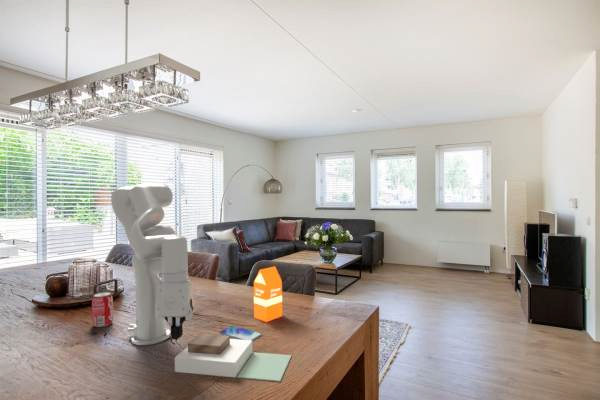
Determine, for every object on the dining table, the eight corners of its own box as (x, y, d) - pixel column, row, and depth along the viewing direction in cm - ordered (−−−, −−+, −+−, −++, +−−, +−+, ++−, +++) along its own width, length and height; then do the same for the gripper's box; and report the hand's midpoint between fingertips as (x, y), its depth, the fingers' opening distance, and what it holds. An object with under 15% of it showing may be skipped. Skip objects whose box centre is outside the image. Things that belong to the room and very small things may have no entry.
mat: (237, 377, 87) (237, 376, 87) (254, 353, 101) (254, 352, 101) (280, 381, 85) (280, 380, 85) (291, 356, 99) (291, 355, 99)
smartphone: (249, 341, 109) (218, 332, 117) (249, 344, 109) (218, 334, 117) (263, 333, 115) (232, 325, 123) (263, 335, 115) (232, 327, 123)
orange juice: (253, 317, 132) (253, 268, 132) (270, 311, 138) (269, 265, 138) (266, 322, 127) (265, 271, 126) (282, 316, 133) (282, 267, 133)
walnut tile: (187, 352, 94) (187, 343, 94) (199, 341, 101) (199, 333, 101) (219, 354, 92) (219, 346, 92) (229, 343, 99) (229, 335, 99)
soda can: (110, 319, 131) (110, 290, 131) (115, 324, 126) (115, 293, 126) (90, 324, 126) (89, 294, 126) (94, 329, 121) (94, 298, 121)
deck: (175, 371, 91) (174, 357, 91) (199, 348, 105) (199, 336, 105) (235, 377, 87) (235, 362, 87) (252, 353, 101) (252, 340, 101)
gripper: (145, 279, 96) (146, 341, 96) (191, 280, 93) (193, 344, 93) (160, 274, 103) (162, 332, 103) (203, 274, 101) (205, 333, 100)
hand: (176, 337), depth 98 cm, fingers closed
